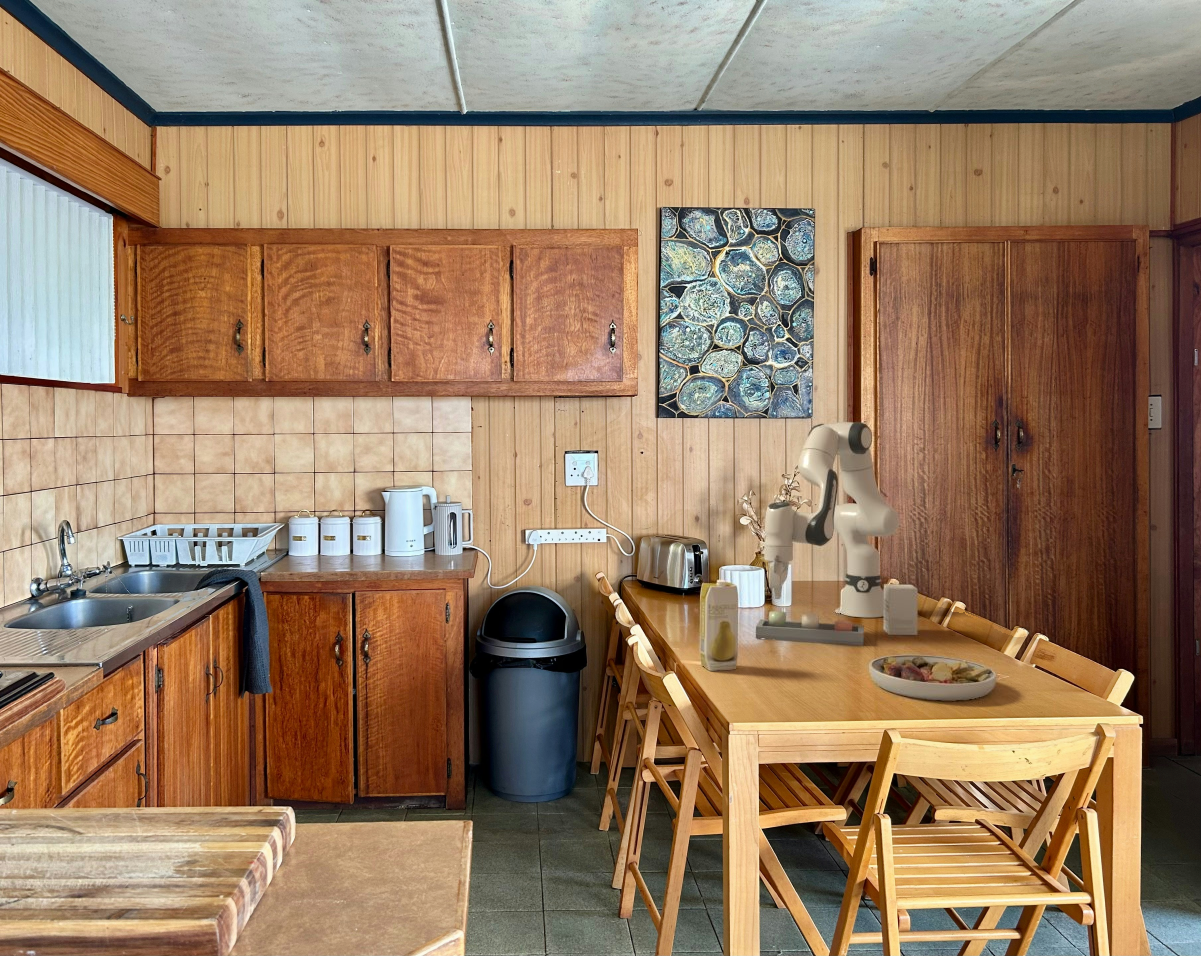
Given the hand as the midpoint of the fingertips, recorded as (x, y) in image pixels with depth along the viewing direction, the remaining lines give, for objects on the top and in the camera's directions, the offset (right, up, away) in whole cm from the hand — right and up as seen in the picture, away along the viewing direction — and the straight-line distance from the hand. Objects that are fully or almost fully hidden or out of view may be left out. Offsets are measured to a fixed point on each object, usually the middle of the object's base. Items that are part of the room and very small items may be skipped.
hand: (777, 598), depth 293 cm
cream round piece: (+10, -9, -2) cm, 13 cm away
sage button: (0, -9, 0) cm, 9 cm away
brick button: (+19, -11, -5) cm, 22 cm away
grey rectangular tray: (+10, -12, -2) cm, 16 cm away
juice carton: (-24, -14, -40) cm, 49 cm away
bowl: (+27, -15, -59) cm, 66 cm away
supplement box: (+41, -12, +7) cm, 43 cm away
